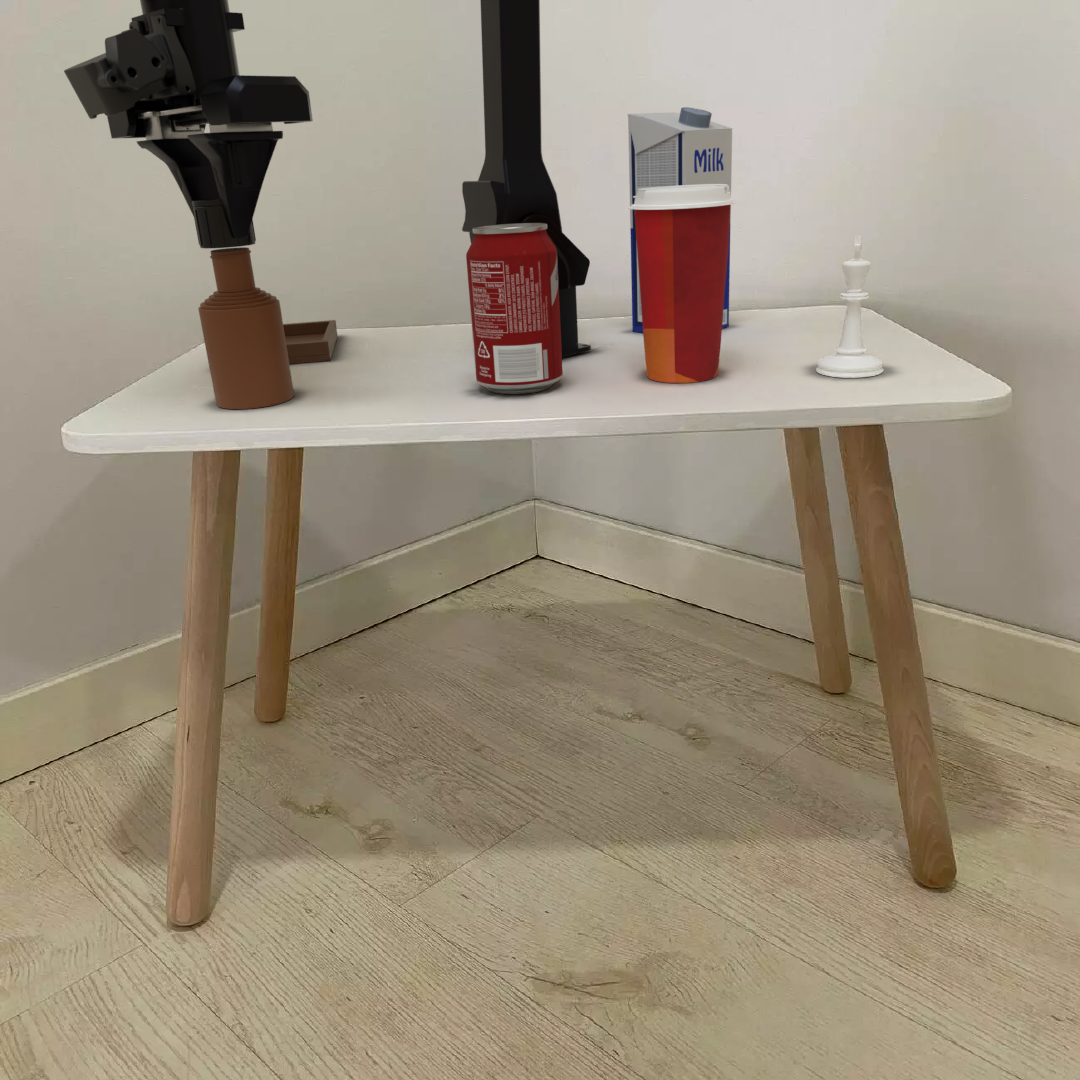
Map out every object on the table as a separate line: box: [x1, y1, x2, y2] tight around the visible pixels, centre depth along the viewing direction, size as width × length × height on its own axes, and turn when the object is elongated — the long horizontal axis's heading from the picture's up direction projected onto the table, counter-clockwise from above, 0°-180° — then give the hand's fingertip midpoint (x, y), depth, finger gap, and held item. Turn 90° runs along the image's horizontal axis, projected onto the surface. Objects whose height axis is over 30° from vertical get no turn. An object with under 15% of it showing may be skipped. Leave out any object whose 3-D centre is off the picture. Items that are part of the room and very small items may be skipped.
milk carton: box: [627, 106, 734, 334], centre depth 90 cm, size 7×7×20 cm
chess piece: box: [815, 234, 884, 379], centre depth 71 cm, size 5×5×10 cm
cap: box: [192, 198, 257, 249], centre depth 70 cm, size 4×4×3 cm
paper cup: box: [628, 184, 736, 384], centre depth 72 cm, size 8×8×14 cm
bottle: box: [197, 246, 295, 410], centre depth 73 cm, size 6×6×12 cm
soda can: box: [465, 223, 564, 395], centre depth 72 cm, size 7×7×12 cm
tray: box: [283, 319, 339, 365], centre depth 94 cm, size 13×10×2 cm
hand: (225, 237), depth 71 cm, fingers closed on cap, 4 cm apart
